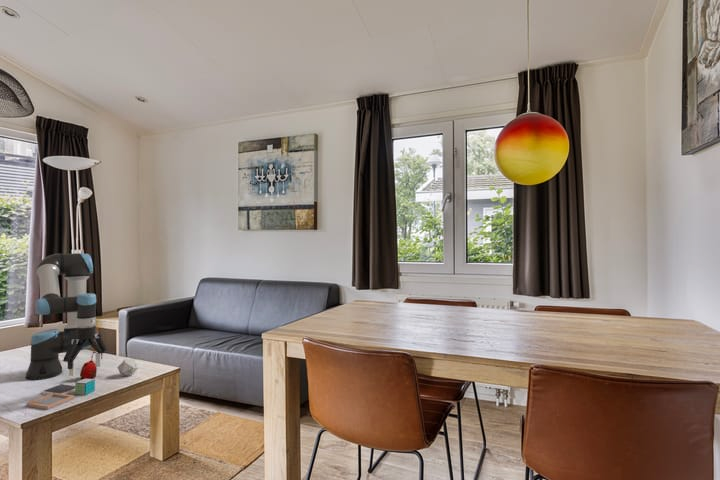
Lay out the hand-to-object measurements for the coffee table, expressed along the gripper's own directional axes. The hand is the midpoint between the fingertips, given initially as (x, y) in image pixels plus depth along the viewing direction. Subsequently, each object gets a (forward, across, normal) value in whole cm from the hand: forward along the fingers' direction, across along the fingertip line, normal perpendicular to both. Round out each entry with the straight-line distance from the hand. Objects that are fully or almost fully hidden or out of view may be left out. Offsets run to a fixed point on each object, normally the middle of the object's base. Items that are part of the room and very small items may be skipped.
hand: (85, 371), depth 186 cm
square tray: (+10, -13, +4) cm, 17 cm away
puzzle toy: (+11, 0, 0) cm, 11 cm away
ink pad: (+10, -2, +12) cm, 16 cm away
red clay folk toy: (+10, +15, +16) cm, 24 cm away
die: (+10, +25, 0) cm, 27 cm away
